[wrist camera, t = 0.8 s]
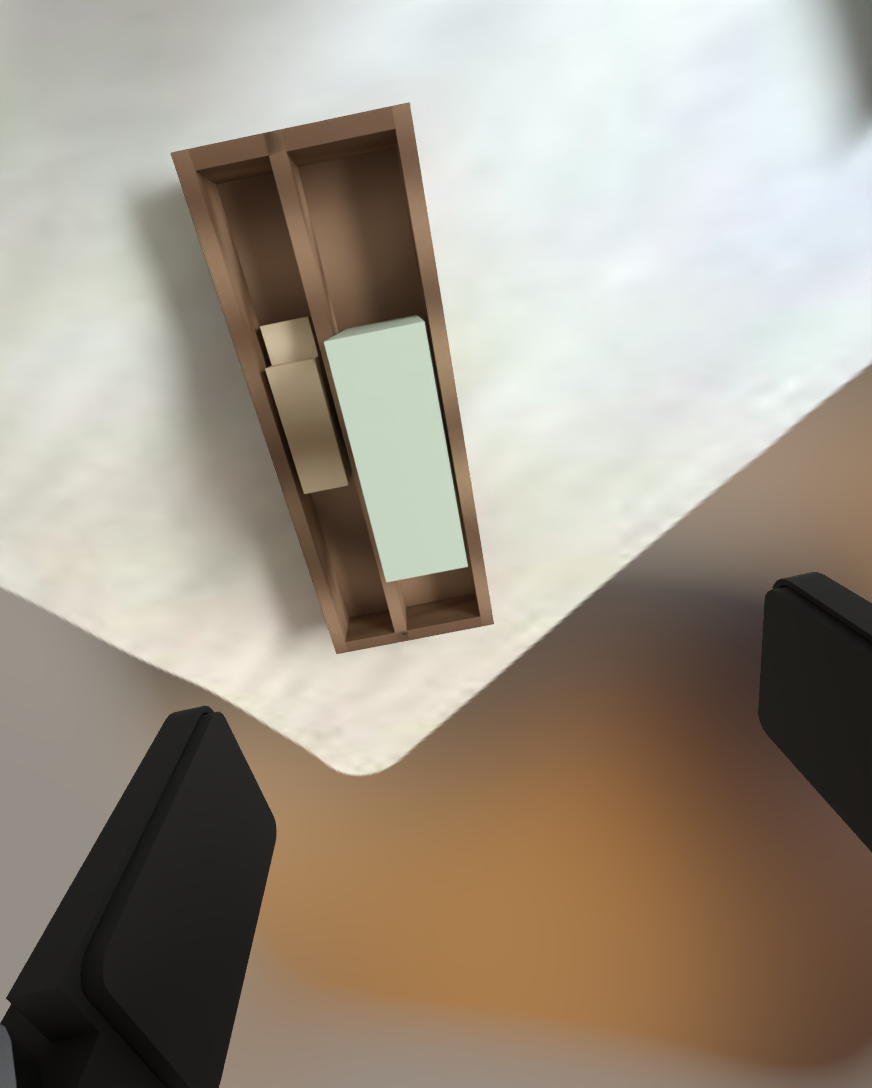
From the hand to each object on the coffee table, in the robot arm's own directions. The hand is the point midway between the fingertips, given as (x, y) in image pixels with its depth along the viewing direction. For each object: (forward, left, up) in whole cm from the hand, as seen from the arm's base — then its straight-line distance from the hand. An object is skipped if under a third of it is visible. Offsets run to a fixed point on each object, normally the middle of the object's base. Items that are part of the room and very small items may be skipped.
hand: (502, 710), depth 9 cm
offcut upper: (-1, -7, -24) cm, 24 cm away
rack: (0, -4, -26) cm, 27 cm away
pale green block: (0, -2, -25) cm, 25 cm away
